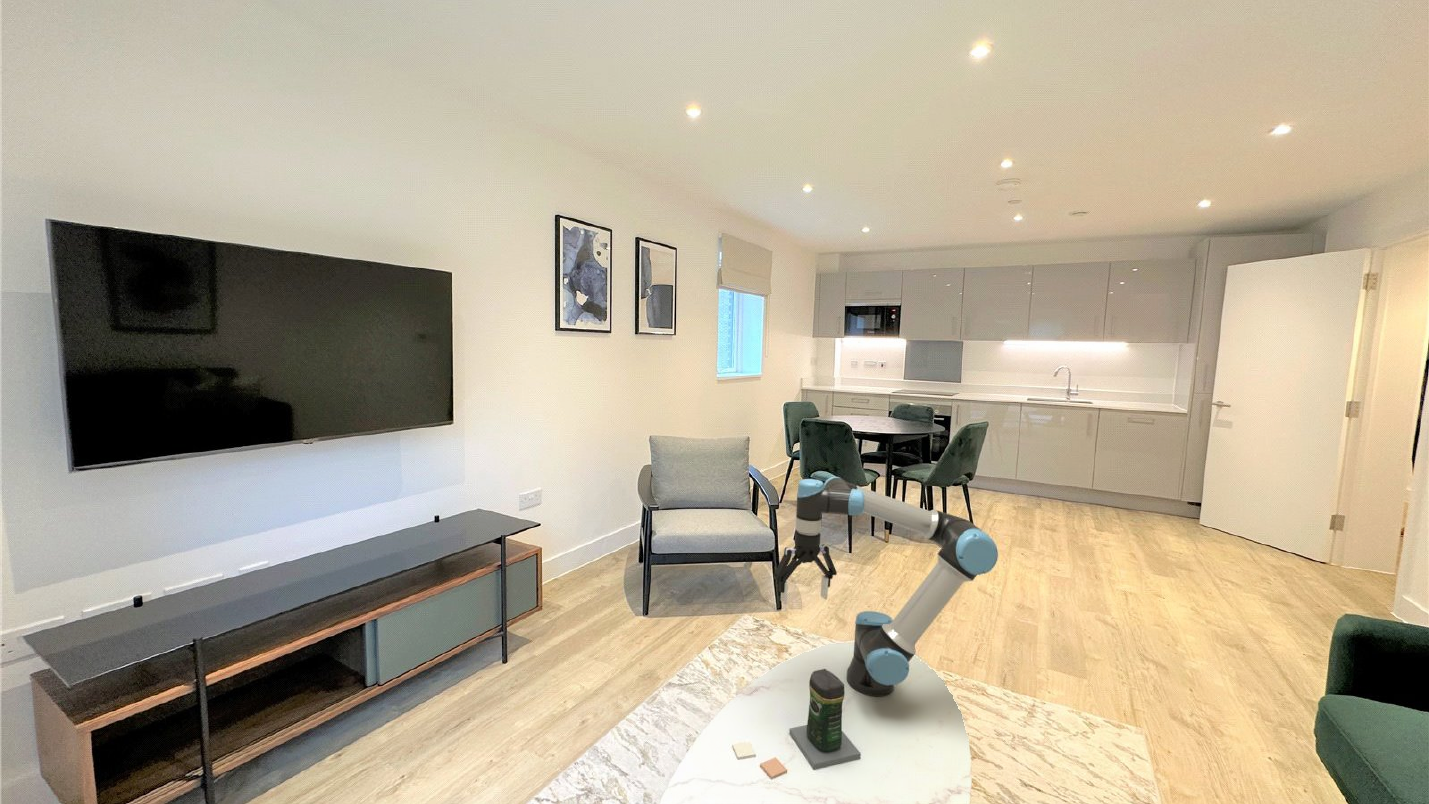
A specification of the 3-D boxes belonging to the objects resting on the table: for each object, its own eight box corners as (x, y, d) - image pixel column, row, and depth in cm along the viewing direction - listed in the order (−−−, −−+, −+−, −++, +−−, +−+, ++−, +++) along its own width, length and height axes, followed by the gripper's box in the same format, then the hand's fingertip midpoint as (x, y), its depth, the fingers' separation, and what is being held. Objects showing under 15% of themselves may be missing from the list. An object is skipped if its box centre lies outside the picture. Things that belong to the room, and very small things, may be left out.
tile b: (749, 745, 151) (749, 741, 151) (755, 758, 146) (755, 754, 146) (732, 748, 150) (732, 744, 150) (737, 761, 145) (738, 757, 145)
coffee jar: (846, 748, 148) (850, 683, 147) (821, 756, 145) (825, 689, 144) (825, 726, 157) (829, 664, 156) (801, 732, 154) (805, 669, 152)
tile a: (775, 761, 146) (775, 757, 146) (787, 774, 141) (787, 769, 141) (759, 768, 143) (760, 763, 143) (771, 781, 139) (771, 776, 139)
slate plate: (832, 724, 160) (833, 719, 160) (860, 758, 147) (860, 753, 147) (789, 733, 156) (789, 728, 156) (813, 769, 143) (814, 764, 142)
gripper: (837, 524, 173) (833, 590, 175) (764, 530, 165) (761, 598, 167) (851, 532, 166) (846, 600, 168) (775, 538, 158) (771, 610, 159)
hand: (803, 600), depth 167 cm, fingers open, 13 cm apart
